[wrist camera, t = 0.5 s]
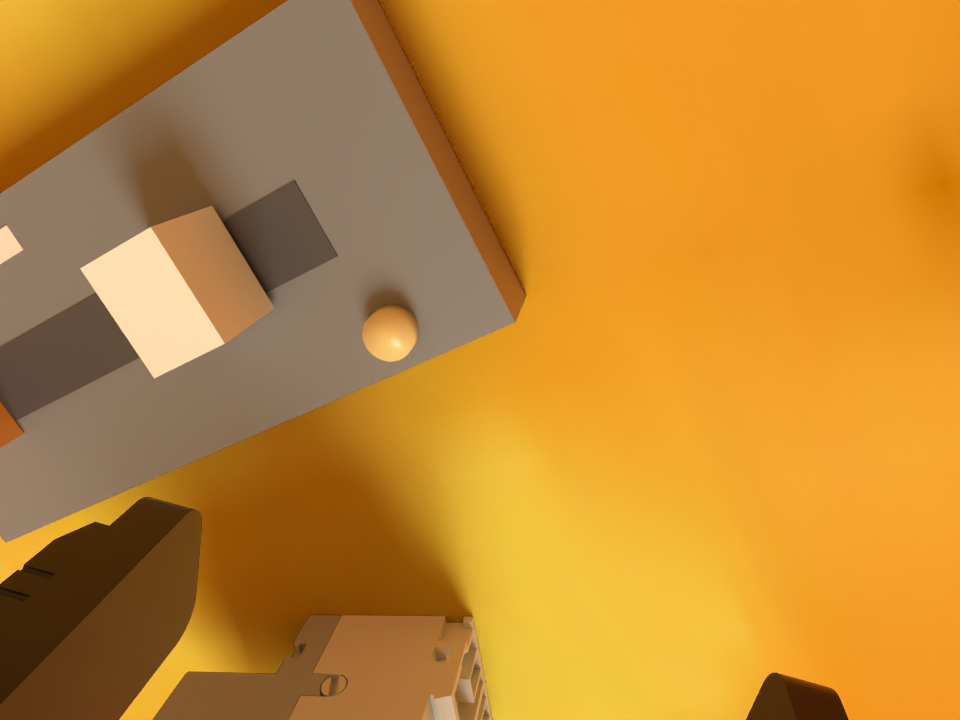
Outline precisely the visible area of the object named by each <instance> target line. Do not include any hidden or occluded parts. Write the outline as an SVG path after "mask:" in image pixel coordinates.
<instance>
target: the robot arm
mask: <svg viewBox="0 0 960 720" xmlns="http://www.w3.org/2000/svg"><path fill="white" fill-rule="evenodd" d="M201 530H202V517H201V514H200V513H199V511H197V510H194V509H190V508H187V507H183V506H179V505H176V504H172V503H169V502H165V501H161V500H158V499H154V498H151V497H144V498H142V499H140V500H139V501H137V502H136V503H135V504H134V505H133V506H131V507H130V508H129V509H128V510H127V511H126V512H125V513H124V514H122V515H121V516H120V517H119V518H118V519H117V520H116V521H114V522H113V523H112V524H111V525H110V526H108V525H105V524H101V523H98V522H94V523H91V524H89V525H87V526H84V527H82V528H80V529H78V530H75V531H73V532H71V533H68V534H66V535H64V536H61V537H59V538H57V539H55V540H53V541H52V542H51V543H50V544H49V545H47V546H46V547H45V548H44V549H42V550H41V551H40V552H39V553H38V554H36V555H35V556H34V557H33V558H31V559H30V560H29V561H28V562H27V563H25V564H24V567H23V569H22V570H21V571H20V570H17V571H16V572H14V573H13V574H12V575H11V576H10V577H8V578H7V579H6V580H5V581H3V582H2V583H1V584H0V720H119V719H120V717H121V716H122V715H123V713H124V712H125V711H126V710H127V708H128V707H129V706H130V704H131V703H132V702H133V700H134V699H135V698H136V696H137V695H138V694H139V693H140V691H141V690H142V689H143V687H144V686H145V685H146V683H147V682H148V681H149V679H150V678H151V677H152V676H153V674H154V673H155V672H156V670H157V669H158V668H159V666H160V665H161V664H162V663H163V661H164V660H165V659H166V657H167V656H168V655H169V653H170V652H171V651H172V649H173V648H174V647H175V646H176V644H177V643H178V641H179V640H180V638H181V637H182V635H183V633H184V631H185V629H186V627H187V625H188V623H189V620H190V618H191V615H192V612H193V608H194V604H195V600H196V590H197V578H198V566H199V554H200V542H201ZM746 720H848V717H847V715H846V712H845V710H844V707H843V705H842V702H841V700H840V698H839V696H838V694H837V693H836V692H835V691H834V690H833V689H831V688H829V687H825V686H822V685H818V684H815V683H811V682H807V681H804V680H800V679H797V678H793V677H789V676H786V675H782V674H778V673H772V674H770V675H769V676H768V677H767V678H766V679H765V681H764V683H763V685H762V687H761V689H760V691H759V693H758V695H757V697H756V700H755V702H754V704H753V706H752V708H751V710H750V712H749V715H748V717H747V719H746Z"/></svg>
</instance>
